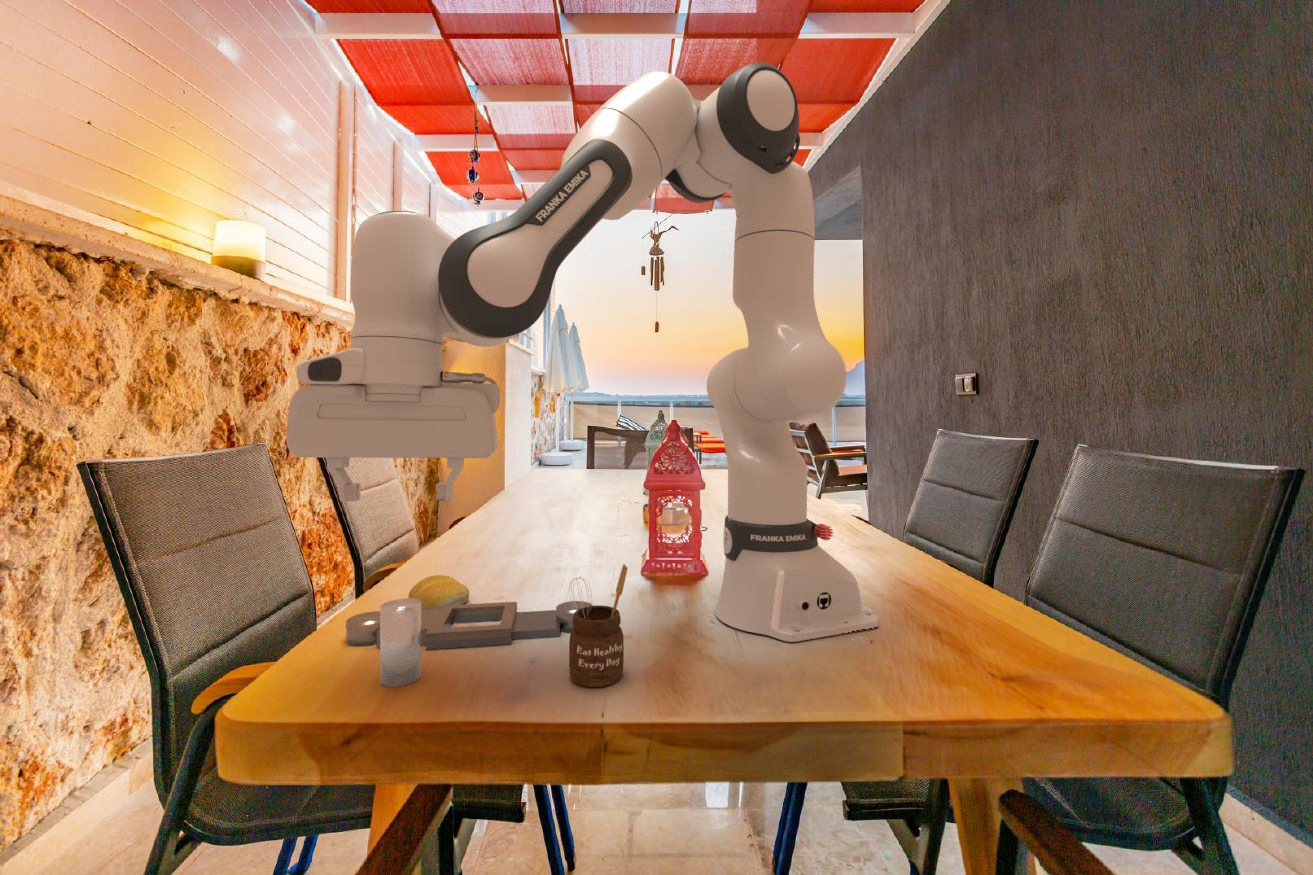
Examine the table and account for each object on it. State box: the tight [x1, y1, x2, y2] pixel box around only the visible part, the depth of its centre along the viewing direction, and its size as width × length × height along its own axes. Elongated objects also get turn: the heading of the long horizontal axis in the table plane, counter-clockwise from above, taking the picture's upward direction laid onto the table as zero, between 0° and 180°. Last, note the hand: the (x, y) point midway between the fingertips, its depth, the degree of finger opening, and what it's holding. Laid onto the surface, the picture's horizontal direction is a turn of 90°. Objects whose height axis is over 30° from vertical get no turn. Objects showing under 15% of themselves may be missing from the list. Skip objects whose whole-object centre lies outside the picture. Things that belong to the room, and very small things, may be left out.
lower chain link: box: [425, 600, 594, 651], centre depth 72 cm, size 20×10×2 cm, turn 100°
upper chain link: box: [345, 601, 518, 649], centre depth 70 cm, size 20×10×2 cm, turn 100°
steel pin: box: [379, 598, 422, 688], centre depth 58 cm, size 4×4×8 cm
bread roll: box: [407, 574, 470, 610], centre depth 82 cm, size 8×9×4 cm
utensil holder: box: [568, 563, 628, 688], centre depth 59 cm, size 6×6×12 cm
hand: (398, 500), depth 58 cm, fingers open, 8 cm apart
